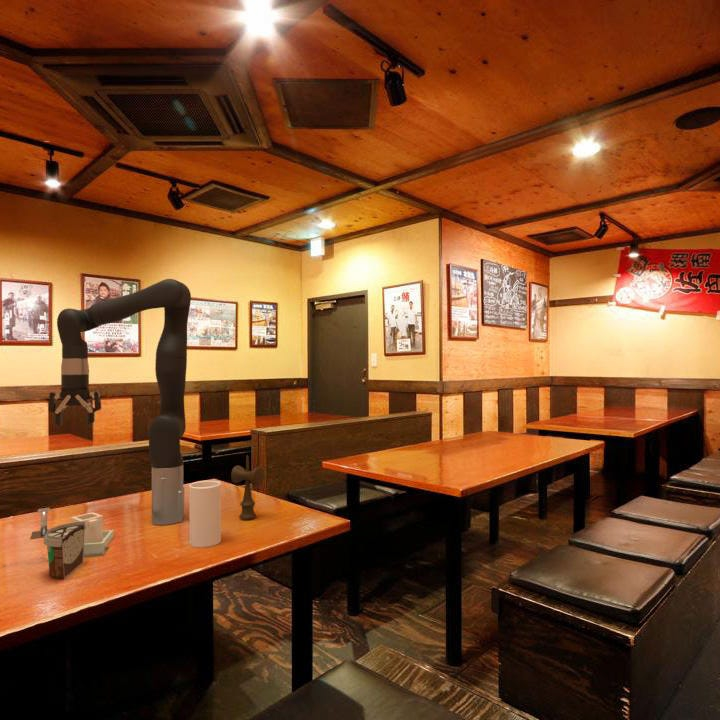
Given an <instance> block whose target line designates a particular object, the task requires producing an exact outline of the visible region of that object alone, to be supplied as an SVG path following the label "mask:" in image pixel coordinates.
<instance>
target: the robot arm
mask: <svg viewBox="0 0 720 720" xmlns="http://www.w3.org/2000/svg"><path fill="white" fill-rule="evenodd" d="M191 301H192V294H191V291H190V289H189V287H188V286H187V285H186V284H184V283H183V282H181V281H179V280H177V279H173V278H165V279H164V280H160V281H158V282H156V283H154V284H151V285H150V286H147V287H145V288H143V289H140V290H137V291H134V292H131V293H128V294H125V295H122V296H121V295H120V296H118V297H115V298H110V299H107V300H103V301H99V302H95V303H93V304H92V305H90V307H88V308H85V309H76V308H69V307H68V308H64V309H63V310H61V311H60V312H59V313H58V316H57V319H56V327H57V332H58V336H59V339H60V342H61V346H62V348H61V364H60V368H61V369H60V375H61V377H60V379H61V386H60V387H61V390H60V392H55V391H52V392H50V393H49V396H48V398H49V399H48V411H49V412H50V413H53V414H55V424H56V425H57V426H58V427H61V426H63V425H64V423H63V421H64V420H63V417H64V415H63V411H64V410H65V409H66V408H67V407H73V406H78V407H80V406H82V407H83V408H85V409H86V410H87V412H88V413H87V425H88V426H91V425H93V424H94V423H95V417H96V416H95V414H96V412H98V411H100V410H101V409H102V401H101V400H102V399H101V392H100V391H98V390H97V391H92V392H91V391H90V364H89V347H88V343H87V341H86V340H84V339H83V336H82V333H85V332H88V331H92V330H93V329H96V328H98V327H100V326H103V325H108V324H112V323H116V322H120V321H122V320H125V319H128V318H130V317H132V316H135V315H136V314H138V313H141V312H143V311H148V310H153V309H161V308H163V309H164V314H163V315H164V322H163V324H164V325H163V329H162V332H161V334H160V337H159V341H158V343H157V346H156V351H155V362H154V363H155V369H154V370H155V378H156V382H157V386H158V389H159V395H160V404H159V405H160V406H159V407H160V408H159V415H158V416H157V417H156V418H154V419H152V421H151V423H150V424H149V429H148V452H149V453H148V454H149V459H150V461H151V523H152V524H153V525H157V526H166V525H167V526H168V525H172V524H177V523H182V522H183V521H184V518H185V487H184V456H183V455H182V453H181V438H182V437H183V436H184V434H185V432H186V428H187V427H186V411H185V410H186V409H185V392H186V391H185V390H186V379H187V365H188V364H187V362H188V359H187V357H188V323H189V316H190V307H191V303H192V302H191ZM59 397H60V398H61V400H62V401H61V403H60V404H59V405H58V407H57V400H59ZM90 397H91V398H92V399H93V400H94V406H93V405H92V403H91V402H90V401H89V398H90Z"/></svg>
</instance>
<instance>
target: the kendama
mask: <svg viewBox="0 0 720 720" xmlns="http://www.w3.org/2000/svg"><path fill="white" fill-rule="evenodd" d="M245 459H246V460H245V468H244V467H243V466H241V465H235V466H233V468H232V469H231V473H230V478H231V481H232V483H234V484H236V483H240V482H242V481H244V482H245V483H244V493H243V498H242V500H241V502H240V506H241V513H240V514H239V515H238V517H239V519H240V520H243V521H244V520H248V521H249V520H253V519H255V518H256V517H257V514H256V512H255V510H254V507H255V505H256V502H255V501H254V499H253V496H252V489H251V484H252V485H254V486H255V487H261V486H262V484H263V483H264V480H265V469H264V467H262V466H258V467H256V468H254V469H253V470H250V457H249V455H248V454H247V455H246V458H245Z"/></svg>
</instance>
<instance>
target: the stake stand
mask: <svg viewBox="0 0 720 720" xmlns="http://www.w3.org/2000/svg"><path fill="white" fill-rule="evenodd" d="M50 509H51V508H50V507H45V508H39V509H37V513H38V514H39V513H40V530H37V531H31V532H32V533H31V535H30V539H29V540H31V541H32V540H37V539H44V538H45V535H46V533H47V531H48V530H49V529H48V513H49V512H50V511H51V510H50Z"/></svg>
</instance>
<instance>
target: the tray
mask: <svg viewBox="0 0 720 720" xmlns="http://www.w3.org/2000/svg"><path fill="white" fill-rule="evenodd" d="M113 537H115V531H114V529H112V530H111V529H107V530H103V540H102V542H99V543H86V544H84V555H83V558H89V557H101V556H104V555H105V554H106V552H107V551H108V550H109V549H110V546H107V545H108V544H109V543H110V542H111V540H112V539H113Z"/></svg>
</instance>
